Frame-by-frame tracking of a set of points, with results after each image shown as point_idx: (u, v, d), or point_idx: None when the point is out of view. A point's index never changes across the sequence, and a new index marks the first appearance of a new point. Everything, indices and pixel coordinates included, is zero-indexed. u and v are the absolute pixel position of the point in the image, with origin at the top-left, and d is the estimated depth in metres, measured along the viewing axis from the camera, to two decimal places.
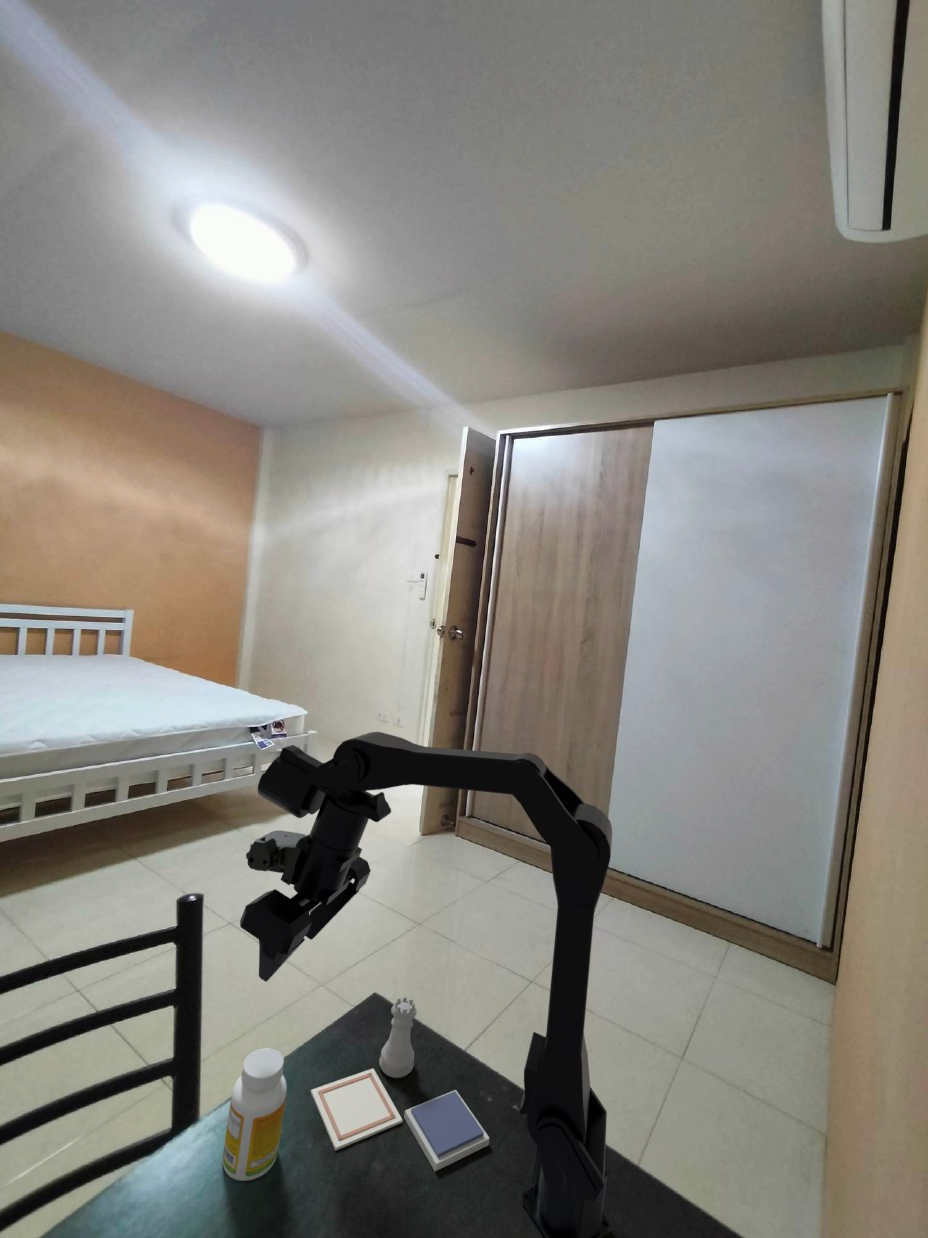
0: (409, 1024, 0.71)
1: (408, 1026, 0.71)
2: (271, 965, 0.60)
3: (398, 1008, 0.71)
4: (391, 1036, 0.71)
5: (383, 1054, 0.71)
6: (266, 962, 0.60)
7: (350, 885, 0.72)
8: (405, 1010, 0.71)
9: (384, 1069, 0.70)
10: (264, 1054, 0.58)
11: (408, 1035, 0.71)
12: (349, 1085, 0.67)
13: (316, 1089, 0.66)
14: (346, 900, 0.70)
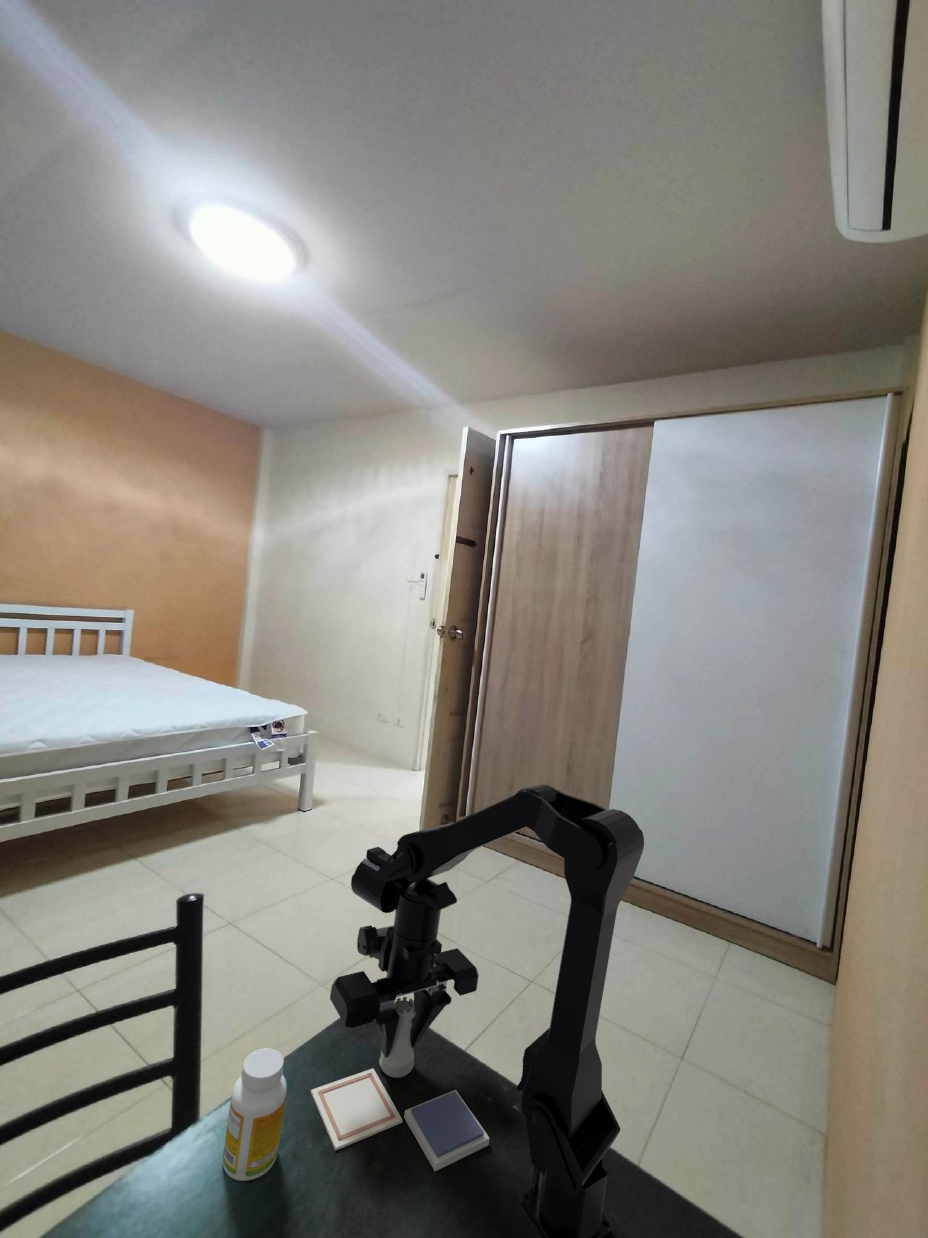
0: (409, 1024, 0.71)
1: (408, 1026, 0.71)
2: (383, 1039, 0.70)
3: (398, 1008, 0.71)
4: None
5: None
6: (381, 1036, 0.70)
7: (443, 995, 0.73)
8: (405, 1010, 0.71)
9: (384, 1069, 0.70)
10: (264, 1054, 0.58)
11: (408, 1035, 0.71)
12: (349, 1085, 0.67)
13: (316, 1089, 0.66)
14: (431, 1008, 0.71)
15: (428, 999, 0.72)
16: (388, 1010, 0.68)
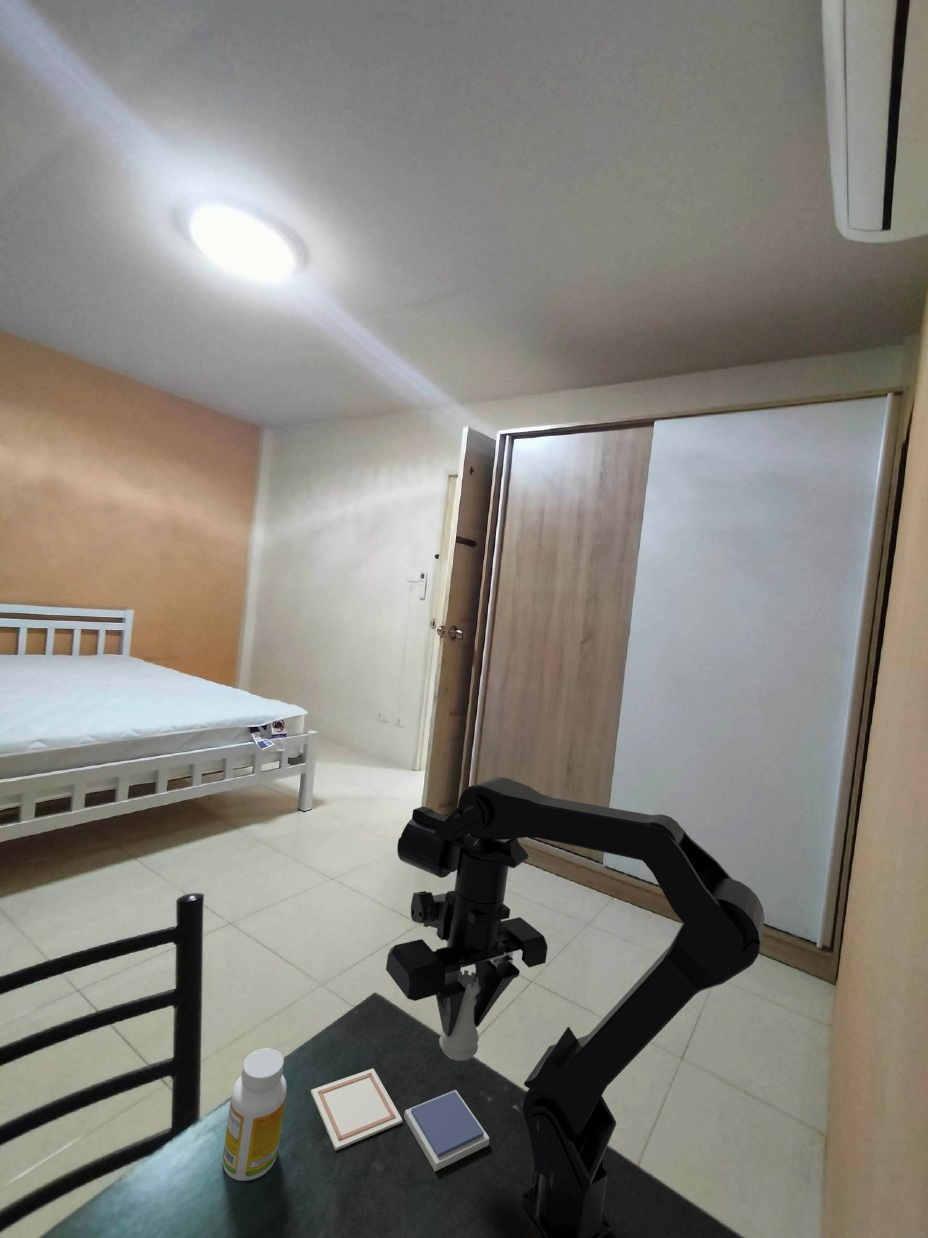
0: (473, 1000, 0.63)
1: (472, 1002, 0.63)
2: (445, 1016, 0.61)
3: (461, 982, 0.63)
4: None
5: (444, 1034, 0.63)
6: (442, 1013, 0.62)
7: (509, 967, 0.65)
8: (469, 984, 0.62)
9: (446, 1051, 0.62)
10: (264, 1054, 0.58)
11: (472, 1012, 0.63)
12: (349, 1085, 0.67)
13: (316, 1089, 0.66)
14: (498, 981, 0.63)
15: (494, 971, 0.64)
16: (453, 982, 0.60)
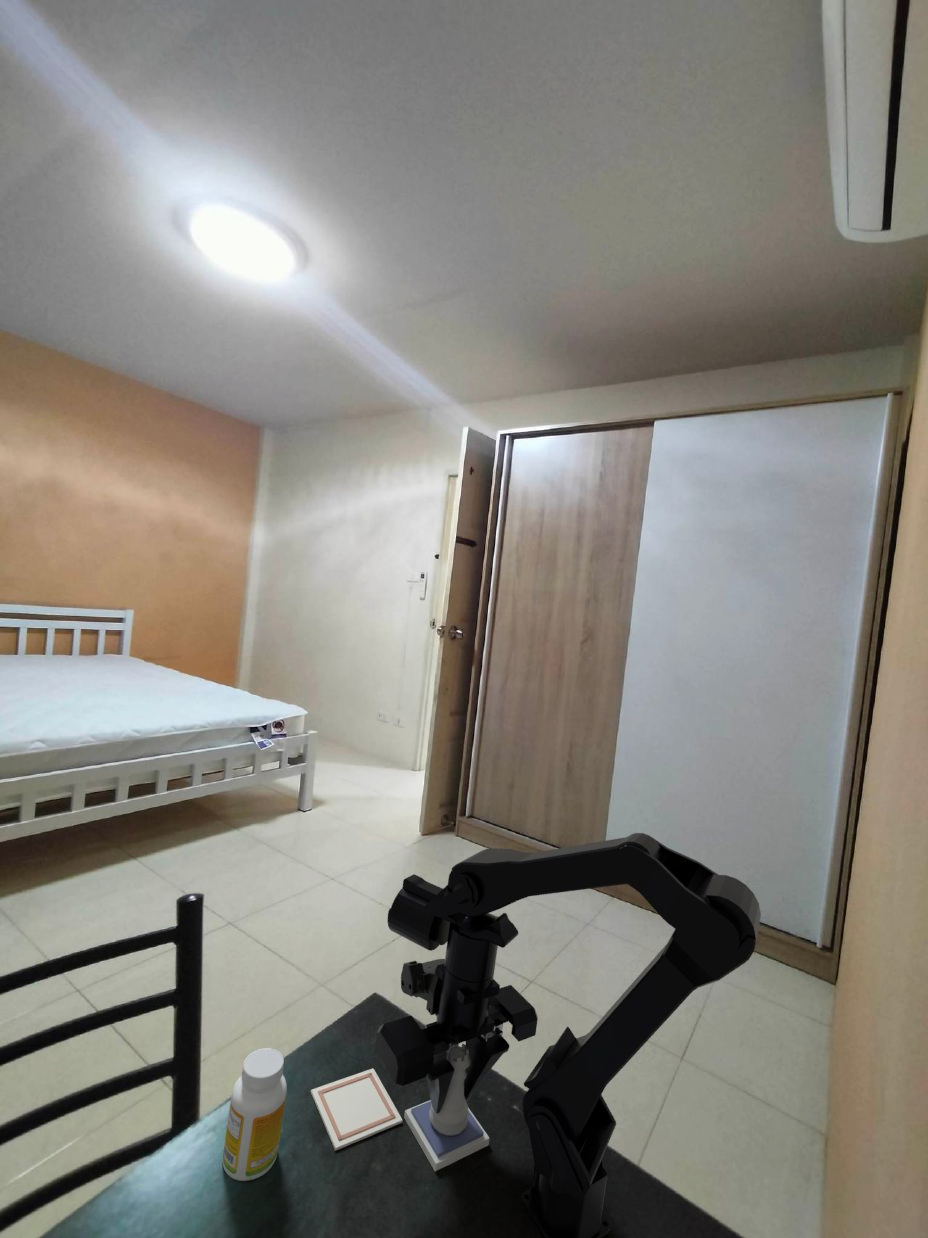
0: (463, 1074, 0.63)
1: (462, 1076, 0.63)
2: (434, 1094, 0.61)
3: (451, 1056, 0.63)
4: None
5: None
6: (431, 1089, 0.62)
7: (499, 1041, 0.65)
8: (459, 1058, 0.62)
9: (436, 1126, 0.62)
10: (264, 1054, 0.58)
11: (462, 1086, 0.63)
12: (349, 1085, 0.67)
13: (316, 1089, 0.66)
14: (488, 1057, 0.63)
15: (483, 1046, 0.64)
16: (441, 1062, 0.60)
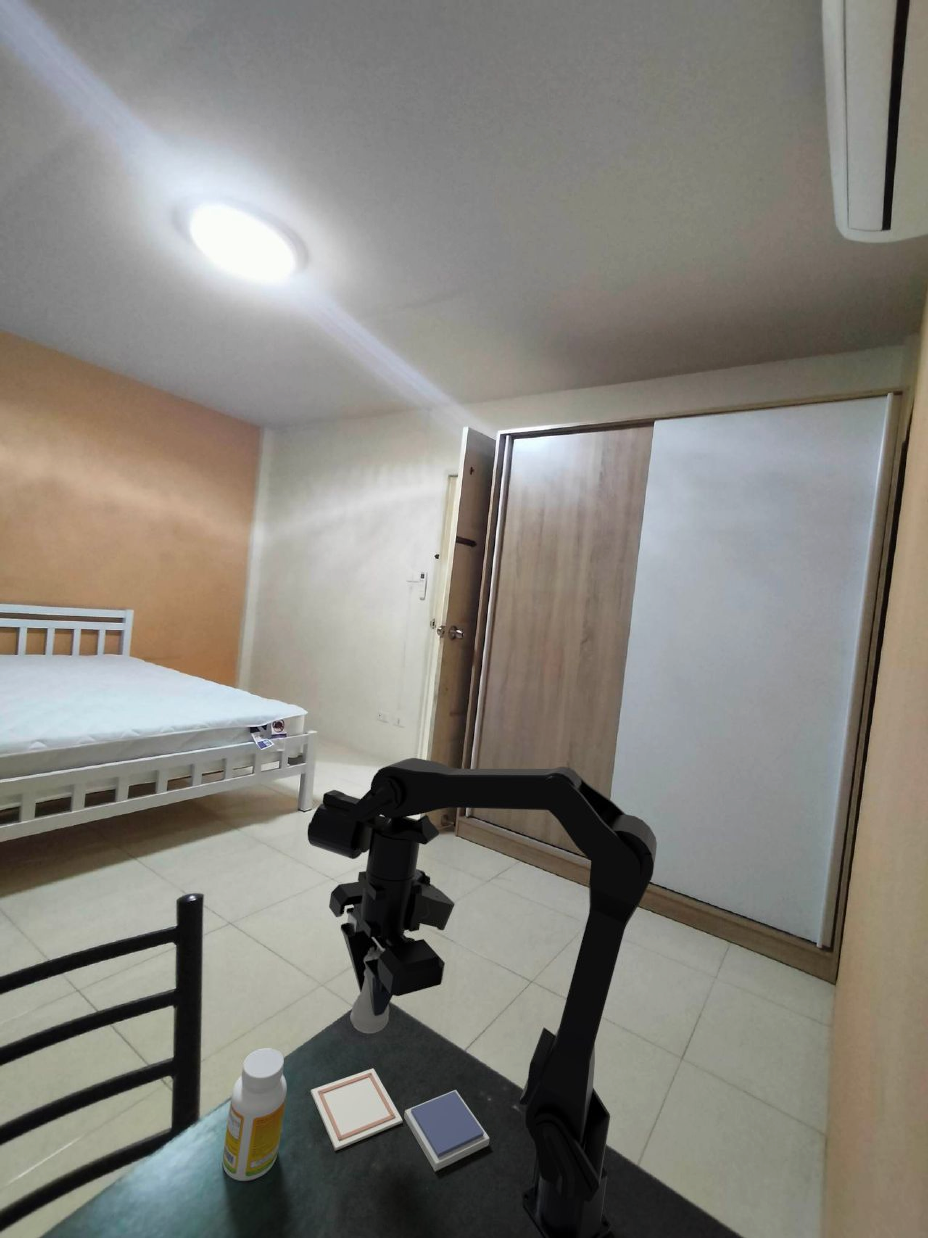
0: None
1: None
2: None
3: (371, 948, 0.66)
4: None
5: None
6: None
7: None
8: (368, 952, 0.65)
9: None
10: (264, 1054, 0.58)
11: (368, 987, 0.64)
12: (349, 1085, 0.67)
13: (316, 1089, 0.66)
14: None
15: (377, 959, 0.62)
16: (352, 926, 0.67)
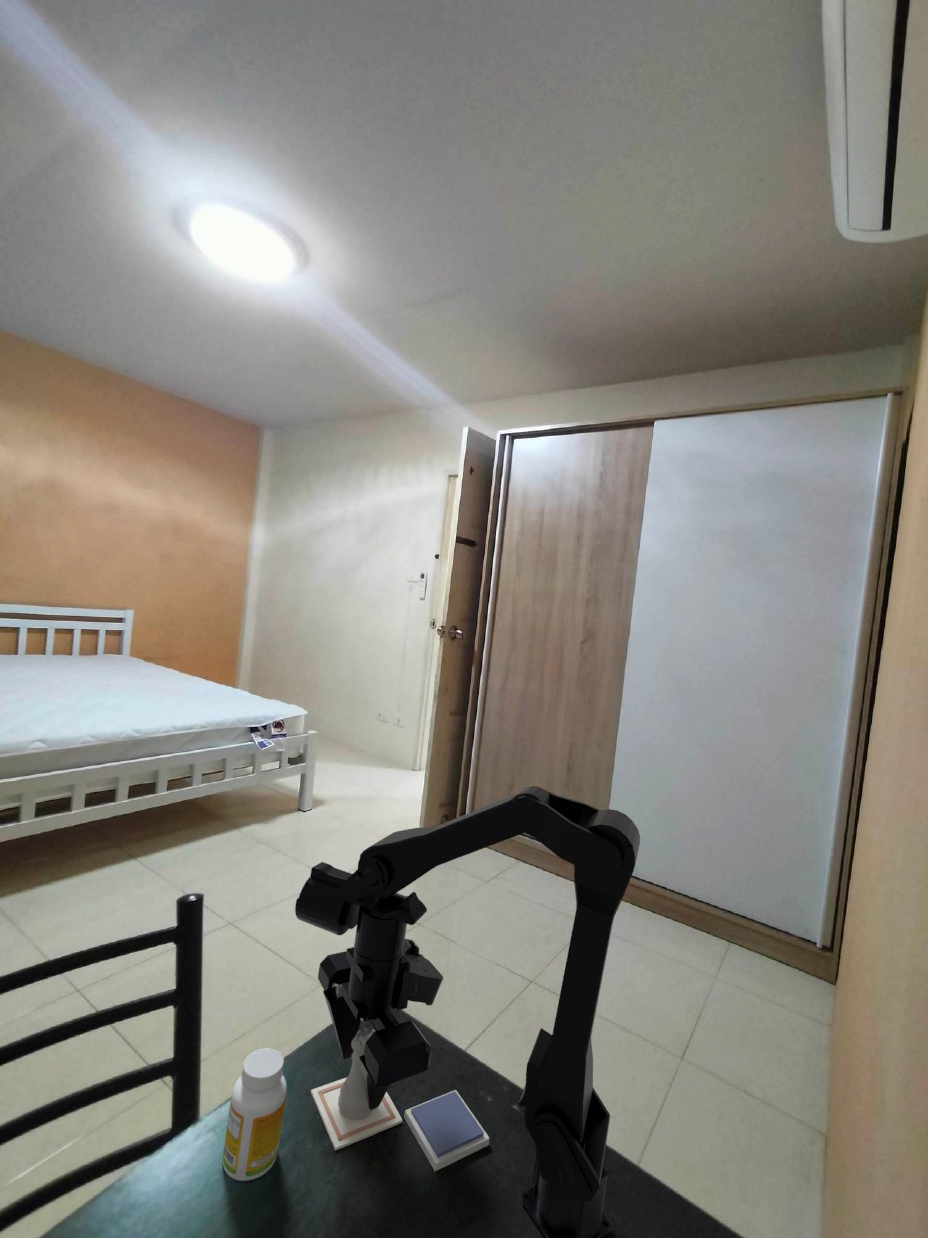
0: (357, 1059, 0.64)
1: (355, 1059, 0.64)
2: None
3: (359, 1031, 0.66)
4: None
5: None
6: None
7: None
8: (356, 1036, 0.65)
9: None
10: (264, 1054, 0.58)
11: (356, 1072, 0.64)
12: None
13: (316, 1089, 0.66)
14: None
15: None
16: (334, 992, 0.68)
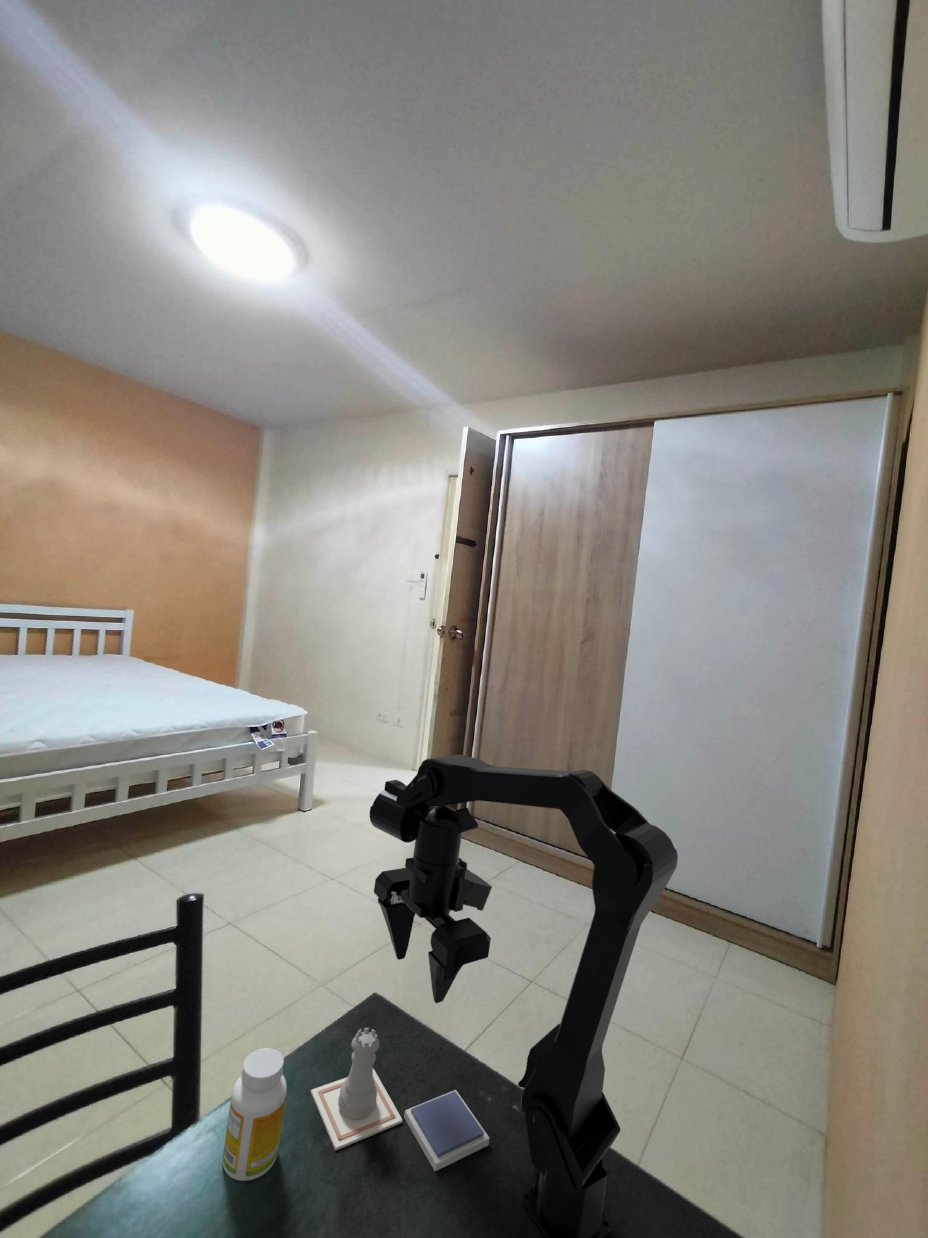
0: (357, 1059, 0.64)
1: (355, 1059, 0.64)
2: None
3: (359, 1031, 0.66)
4: None
5: None
6: None
7: None
8: (356, 1036, 0.65)
9: None
10: (264, 1054, 0.58)
11: (356, 1072, 0.64)
12: None
13: (316, 1089, 0.66)
14: None
15: None
16: (388, 899, 0.75)
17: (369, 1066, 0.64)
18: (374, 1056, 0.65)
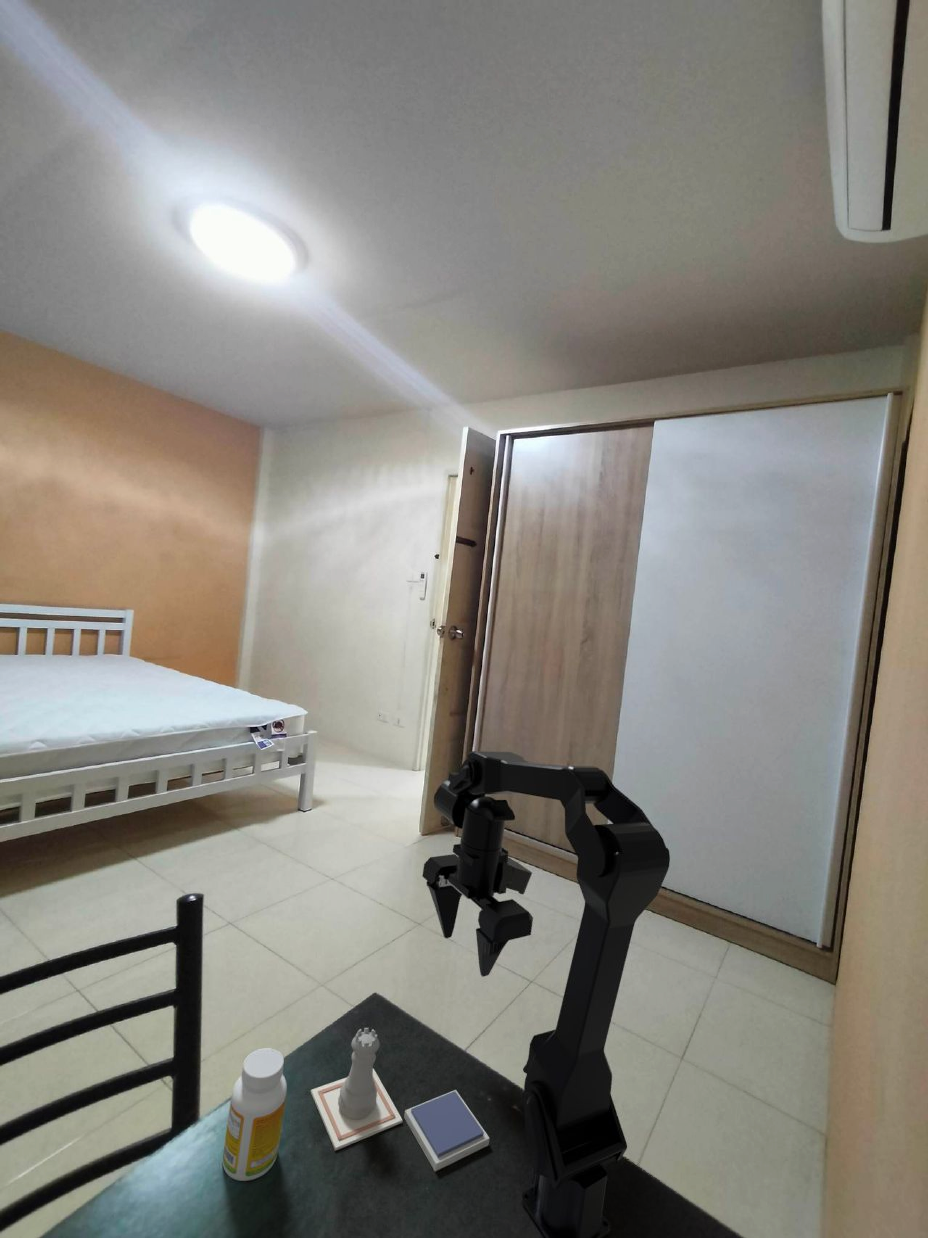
0: (357, 1059, 0.64)
1: (355, 1059, 0.64)
2: None
3: (359, 1031, 0.66)
4: None
5: None
6: None
7: None
8: (356, 1036, 0.65)
9: None
10: (264, 1054, 0.58)
11: (356, 1072, 0.64)
12: None
13: (316, 1089, 0.66)
14: None
15: None
16: (436, 882, 0.81)
17: (369, 1066, 0.64)
18: (374, 1056, 0.65)
